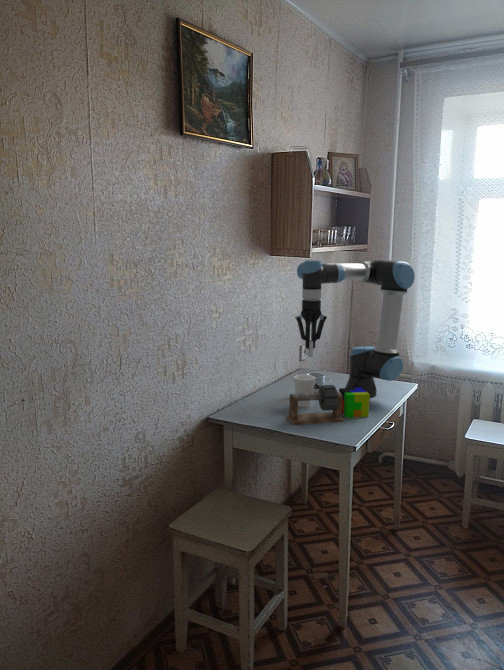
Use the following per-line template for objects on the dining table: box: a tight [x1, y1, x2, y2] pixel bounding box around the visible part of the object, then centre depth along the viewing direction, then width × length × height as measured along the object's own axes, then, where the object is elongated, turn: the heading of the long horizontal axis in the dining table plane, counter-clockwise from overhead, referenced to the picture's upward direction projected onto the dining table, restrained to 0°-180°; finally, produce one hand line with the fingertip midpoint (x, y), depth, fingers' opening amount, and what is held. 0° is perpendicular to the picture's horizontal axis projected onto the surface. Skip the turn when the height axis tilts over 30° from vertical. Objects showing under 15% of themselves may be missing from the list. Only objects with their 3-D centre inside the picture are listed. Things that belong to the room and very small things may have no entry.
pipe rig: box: [286, 391, 345, 426], centre depth 226 cm, size 22×9×12 cm, turn 102°
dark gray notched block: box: [317, 384, 338, 412], centre depth 226 cm, size 5×10×10 cm, turn 12°
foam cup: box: [293, 374, 316, 408], centre depth 244 cm, size 10×9×13 cm
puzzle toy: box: [338, 387, 371, 419], centre depth 235 cm, size 10×10×10 cm
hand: (310, 356), depth 223 cm, fingers closed
